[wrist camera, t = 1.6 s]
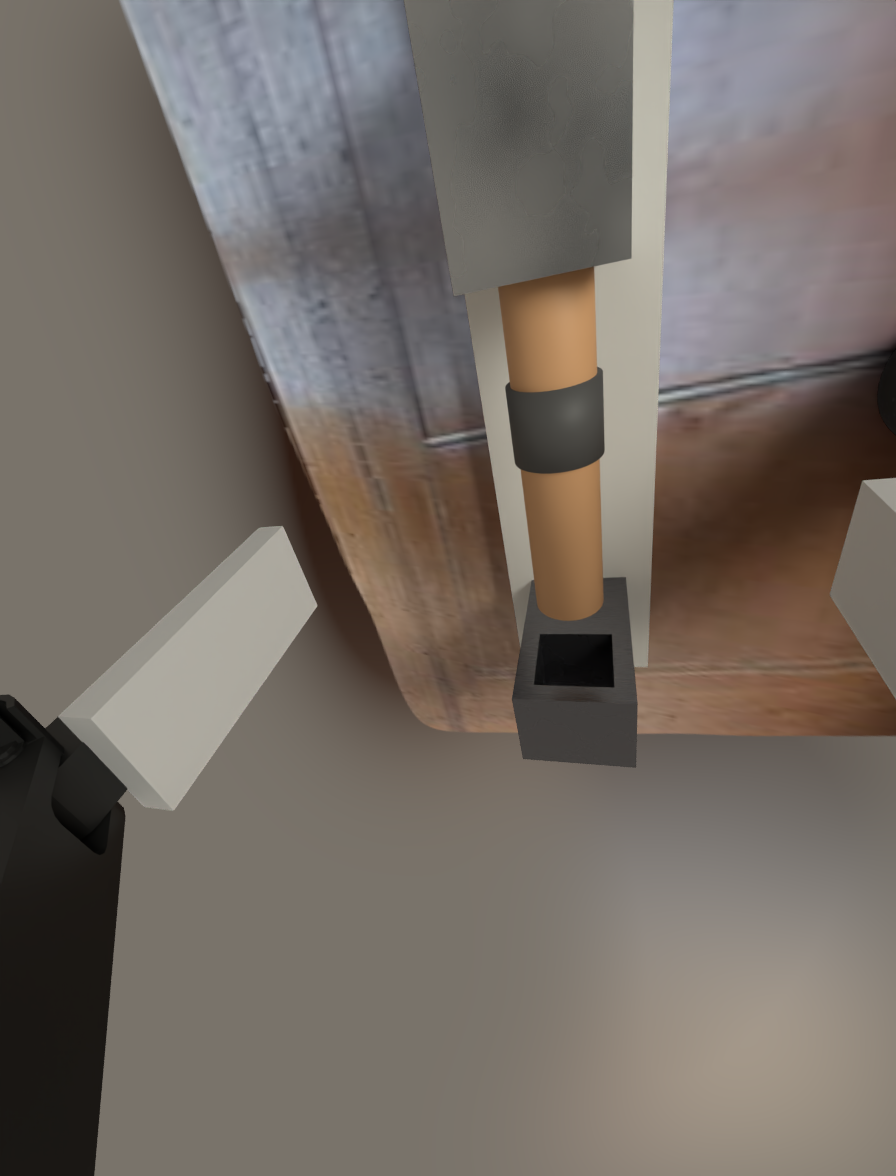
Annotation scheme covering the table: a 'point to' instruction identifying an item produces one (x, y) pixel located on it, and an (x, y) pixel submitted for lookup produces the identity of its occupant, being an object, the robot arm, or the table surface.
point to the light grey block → (527, 133)
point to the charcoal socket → (578, 684)
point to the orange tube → (558, 434)
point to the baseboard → (604, 357)
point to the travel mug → (888, 394)
